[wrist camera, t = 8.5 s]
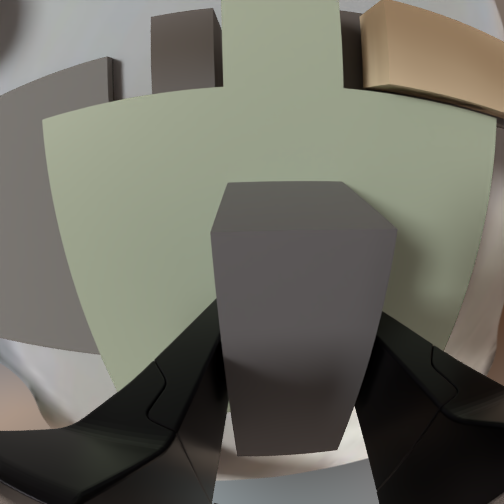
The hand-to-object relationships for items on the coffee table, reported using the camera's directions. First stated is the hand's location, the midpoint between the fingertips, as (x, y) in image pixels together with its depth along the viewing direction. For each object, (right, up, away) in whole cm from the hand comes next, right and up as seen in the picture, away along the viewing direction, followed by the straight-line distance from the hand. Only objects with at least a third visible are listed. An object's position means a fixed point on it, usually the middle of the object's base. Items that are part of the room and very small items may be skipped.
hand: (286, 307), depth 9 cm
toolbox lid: (0, +2, +1) cm, 2 cm away
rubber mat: (-16, +3, +7) cm, 18 cm away
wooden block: (+6, +8, -1) cm, 10 cm away
